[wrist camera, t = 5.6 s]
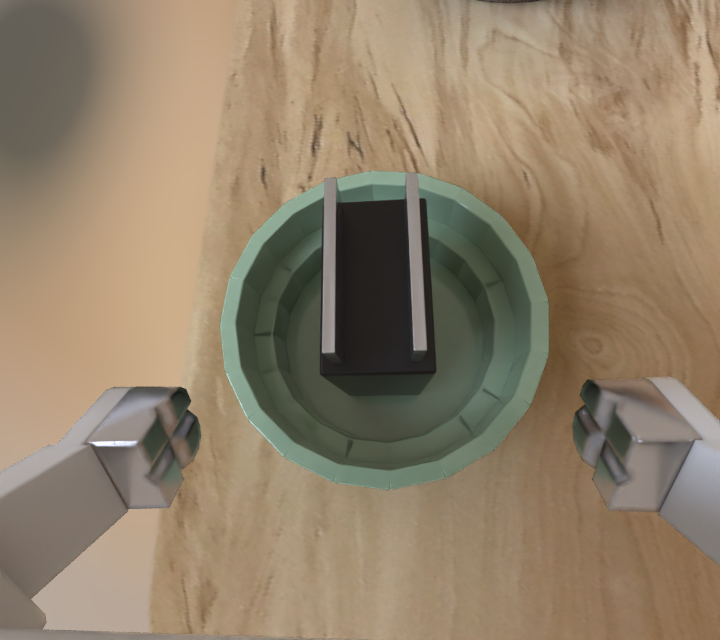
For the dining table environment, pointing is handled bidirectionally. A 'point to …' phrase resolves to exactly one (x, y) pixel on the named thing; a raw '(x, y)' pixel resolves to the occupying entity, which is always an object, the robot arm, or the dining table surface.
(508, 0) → the bowl
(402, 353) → the clip
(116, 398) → the robot arm
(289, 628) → the dining table surface
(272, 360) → the green bowl
